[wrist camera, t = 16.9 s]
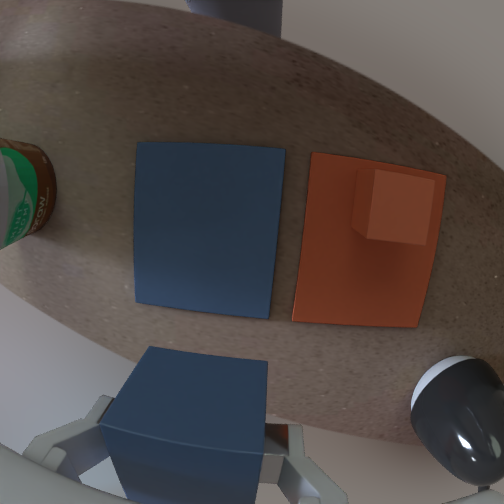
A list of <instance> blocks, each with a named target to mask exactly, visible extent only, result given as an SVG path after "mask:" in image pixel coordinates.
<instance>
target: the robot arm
mask: <svg viewBox="0 0 504 504" xmlns="http://www.w3.org/2000/svg"><path fill="white" fill-rule="evenodd" d="M114 399H115V398H113V397H109V396H106V395H102V396H100V398H99V399H98V400H97V402H96V403H95V405H94V406H93V407H92V409H91V410H90V412H89V413H88V415H87V416H86V417H85V419H78V420H76V421H74V422H71V423H69V424H66V425H64V426H62V427H59V428H56V429H54V430H51V431H49V432H46V433H43V434H41V435H38V436H36V437H35V438H34V439H33V440H32V442H31V443H30V444H29V446H28V447H27V448H26V449H25V451H24V452H23V453H22V455H20V454H19V453H17V452H15V451H13V450H12V449H10V448H8V447H6V446H5V445H3V444H1V443H0V504H143V503H139V502H136V501H132V500H129V499H125V498H122V497H119V496H116V495H112V494H110V493H107V492H104V491H101V490H98V489H96V488H93V487H90V486H88V485H85V484H82V482H81V480H80V479H79V477H78V476H79V475H81V474H82V473H84V472H85V471H87V470H89V469H90V468H92V467H93V466H95V465H97V464H98V463H100V462H101V461H103V460H104V459H106V458H107V457H109V456H110V454H109V451H108V449H107V446H106V443H105V440H104V437H103V434H102V431H101V428H100V421H101V420H102V418H103V416H104V415H105V413H106V412H107V410H108V409H109V407H110V405H111V404H112V402H113V401H114ZM259 483H271V484H277V485H278V486H279V488H280V489H281V491H282V492H283V494H284V495H285V497H286V498H287V499H288V501H289V502H290V504H348V498H347V494H346V493H345V492H344V491H343V490H342V489H341V488H339V486H338V485H336V483H335V482H333V481H332V480H331V479H330V478H329V477H328V476H327V475H326V474H325V473H324V472H323V471H322V470H321V469H320V468H319V467H318V466H317V465H316V464H315V463H314V462H313V461H312V460H311V458H310V457H305V452H304V441H303V429H302V425H295V424H288V425H287V424H271V423H265V440H264V455H263V461H262V467H261V472H260V478H259ZM443 504H504V495H503V494H501V493H499V492H497V491H494V490H492V489H488V490H484V491H480V492H478V493H475V494H472V495H469V496H466V497H463V498H460V499H457V500H453V501H450V502H447V503H443Z"/></svg>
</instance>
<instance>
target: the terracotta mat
mask: <svg viewBox="0 0 504 504" xmlns="http://www.w3.org/2000/svg"><path fill="white" fill-rule="evenodd" d="M358 169H378V170H384V171H389V172H395V173H400V174H405V175H410V176H415V177H420V178H425V179H430V180H434V181H435V185H434V194H433V202H432V209H431V216H430V222H429V229H428V234H427V240H426V245H425V246H422V245H414V244H406V243H398V242H390V241H381V240H373V239H367V238H365V237H364V236H363V235H361V234H360V233H359V232H357V231H356V230H355V229H353V228H352V227H351V221H352V214H353V206H354V197H355V189H356V180H357V170H358ZM445 186H446V175H442V174H437V173H433V172H428V171H424V170H419V169H414V168H409V167H404V166H399V165H394V164H389V163H383V162H377V161H372V160H366V159H359V158H353V157H346V156H340V155H332V154H325V153H317V152H311V160H310V171H309V181H308V191H307V201H306V210H305V219H304V228H303V237H302V245H301V254H300V262H299V269H298V277H297V285H296V292H295V299H294V306H293V313H292V321H297V322H310V323H324V324H340V325H359V326H382V327H417V325H418V322H419V318H420V315H421V311H422V308H423V304H424V300H425V296H426V292H427V288H428V284H429V280H430V275H431V271H432V266H433V261H434V257H435V252H436V246H437V241H438V235H439V229H440V223H441V217H442V210H443V203H444V195H445Z"/></svg>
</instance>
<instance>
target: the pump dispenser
mask: <svg viewBox="0 0 504 504" xmlns="http://www.w3.org/2000/svg"><path fill="white" fill-rule="evenodd" d="M411 424H412V427H413V429H414V431H415V433H416V435H417V436H418V438H419V439H420V440H421V442H422V443H423V445H424V446H425V447H426V448H427V450H428V451H429V452H430V453H431V454H432V456H433V457H434V458H435V459H436V460H437V461H438V462H439V463H440V464H441V465H442V466H443V467H445V468H446V469H447V470H448V471H449V472H450V473H452V474H453V475H454V476H455V477H457V478H458V479H460V480H462V481H464V482H466V483H468V484H471V485H474V486H478V492H480V491H484V490H488V489H489V488H490V485H492V484H494V483H496V482H498V481H500V480H501V479H503V478H504V385H503V383H502V382H501V380H500V378H499V377H498V375H497V373H496V372H495V371H494V369H493V368H492V367H491V366H490V365H489V364H488V363H487V362H486V361H484V360H482V359H476V358H473V357H470V356H462V355H461V356H453V357H449V358H446V359H444V360H442V361H440V362H438V363H437V364H435V365H434V366H433V367H431V368H430V369H429V370H428V371H427V372H426V373H425V374H424V375H423V377H422V378H421V379H420V381H419V382H418V384H417V386H416V388H415V390H414V393H413V397H412V402H411Z"/></svg>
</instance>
